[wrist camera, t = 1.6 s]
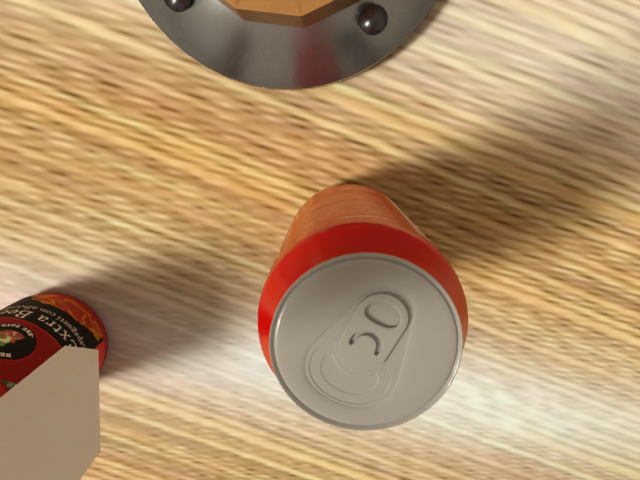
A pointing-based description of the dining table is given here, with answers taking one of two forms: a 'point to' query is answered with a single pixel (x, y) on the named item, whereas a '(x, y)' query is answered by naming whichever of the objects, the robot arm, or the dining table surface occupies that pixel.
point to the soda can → (361, 312)
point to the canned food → (44, 334)
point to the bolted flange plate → (288, 36)
